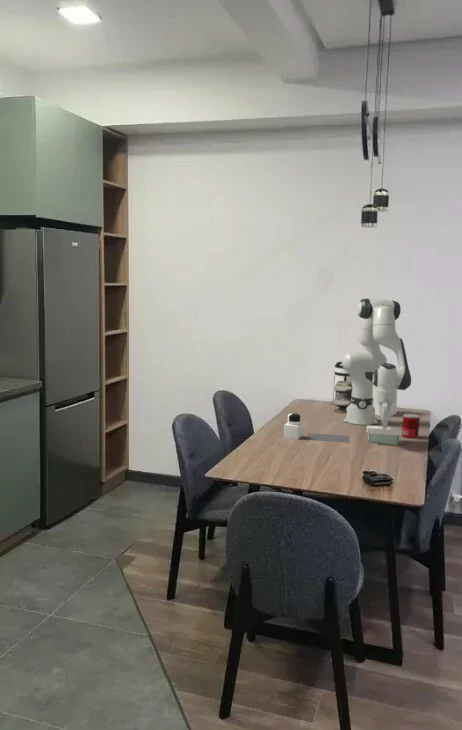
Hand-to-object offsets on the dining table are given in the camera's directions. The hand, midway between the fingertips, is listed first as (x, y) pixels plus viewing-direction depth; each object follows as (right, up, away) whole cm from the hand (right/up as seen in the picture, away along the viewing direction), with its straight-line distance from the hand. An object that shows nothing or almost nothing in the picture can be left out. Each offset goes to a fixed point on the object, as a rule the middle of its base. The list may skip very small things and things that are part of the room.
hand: (383, 426), depth 305 cm
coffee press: (-2, +4, +95) cm, 95 cm away
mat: (-26, -7, +4) cm, 27 cm away
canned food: (+17, -7, +16) cm, 25 cm away
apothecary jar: (-7, +1, +75) cm, 75 cm away
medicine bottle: (-43, -6, +4) cm, 44 cm away
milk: (+17, 0, +73) cm, 75 cm away
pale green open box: (0, -8, +1) cm, 8 cm away
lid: (0, -3, 0) cm, 3 cm away
